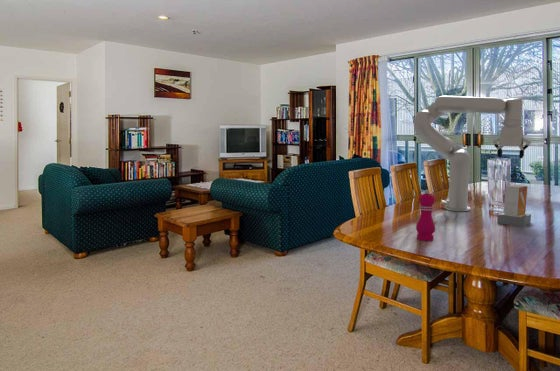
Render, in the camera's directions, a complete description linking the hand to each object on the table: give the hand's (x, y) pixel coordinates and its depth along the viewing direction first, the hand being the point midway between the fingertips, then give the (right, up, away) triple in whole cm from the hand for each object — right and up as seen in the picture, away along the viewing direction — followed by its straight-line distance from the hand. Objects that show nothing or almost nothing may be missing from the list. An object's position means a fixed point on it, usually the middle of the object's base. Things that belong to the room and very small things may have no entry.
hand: (510, 157), depth 217 cm
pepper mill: (-59, -36, -46) cm, 82 cm away
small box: (-8, -27, -19) cm, 34 cm away
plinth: (-8, -31, -19) cm, 37 cm away
